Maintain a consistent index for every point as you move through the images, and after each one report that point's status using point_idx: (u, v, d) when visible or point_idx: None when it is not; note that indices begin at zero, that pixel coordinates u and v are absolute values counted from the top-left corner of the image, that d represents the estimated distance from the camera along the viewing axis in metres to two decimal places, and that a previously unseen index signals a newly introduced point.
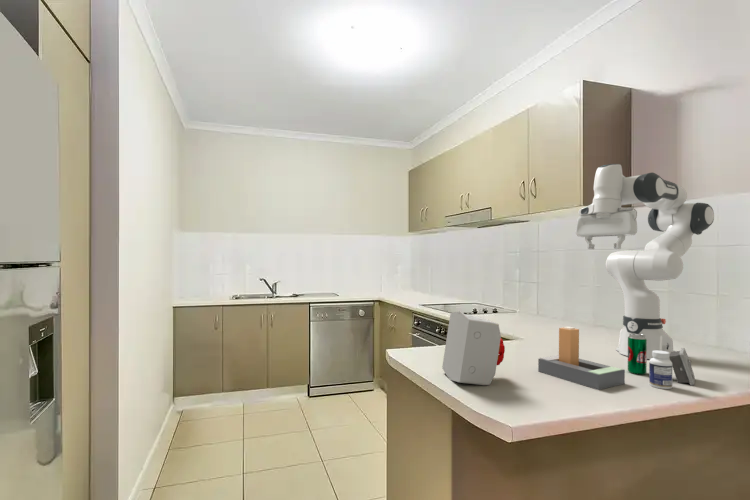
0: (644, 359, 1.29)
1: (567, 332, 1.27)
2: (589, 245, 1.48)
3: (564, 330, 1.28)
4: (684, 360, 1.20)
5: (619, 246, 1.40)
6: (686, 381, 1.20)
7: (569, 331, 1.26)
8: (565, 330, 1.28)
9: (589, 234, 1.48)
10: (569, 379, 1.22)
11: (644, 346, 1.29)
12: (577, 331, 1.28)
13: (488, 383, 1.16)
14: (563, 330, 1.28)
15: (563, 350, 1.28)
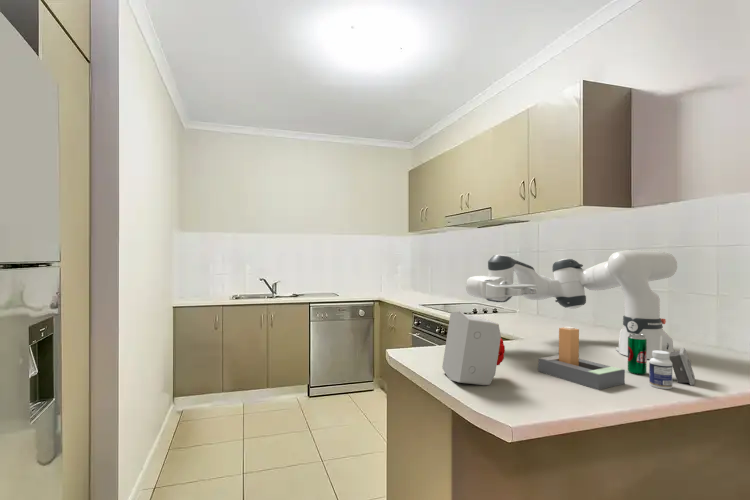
0: (644, 359, 1.29)
1: (567, 332, 1.27)
2: (518, 289, 1.42)
3: (564, 330, 1.28)
4: (684, 360, 1.20)
5: None
6: (686, 381, 1.20)
7: (569, 331, 1.26)
8: (565, 330, 1.28)
9: (508, 286, 1.45)
10: (569, 379, 1.22)
11: (644, 346, 1.29)
12: (577, 331, 1.28)
13: (488, 383, 1.16)
14: (563, 330, 1.28)
15: (563, 350, 1.28)
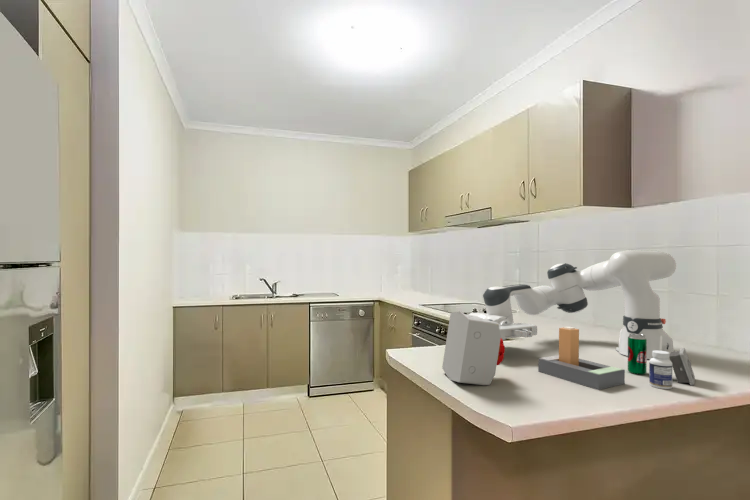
0: (644, 359, 1.29)
1: (567, 332, 1.27)
2: (524, 331, 1.43)
3: (564, 330, 1.28)
4: (684, 360, 1.20)
5: None
6: (686, 381, 1.20)
7: (569, 331, 1.26)
8: (565, 330, 1.28)
9: (508, 328, 1.44)
10: (569, 379, 1.22)
11: (644, 346, 1.29)
12: (577, 331, 1.28)
13: (488, 383, 1.16)
14: (563, 330, 1.28)
15: (563, 350, 1.28)
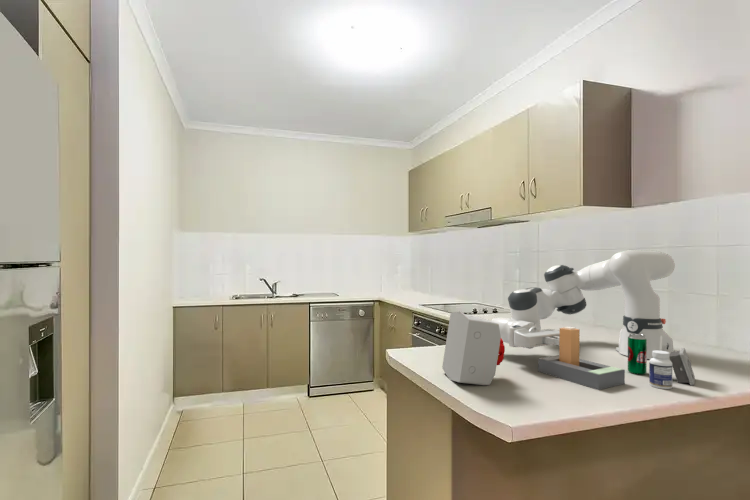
0: (644, 359, 1.29)
1: (568, 332, 1.27)
2: (557, 339, 1.31)
3: (564, 330, 1.28)
4: (684, 360, 1.20)
5: None
6: (686, 381, 1.20)
7: (570, 331, 1.26)
8: (566, 330, 1.28)
9: (539, 335, 1.33)
10: (569, 379, 1.22)
11: (644, 346, 1.29)
12: (578, 331, 1.28)
13: (488, 383, 1.16)
14: (563, 330, 1.28)
15: (564, 350, 1.28)
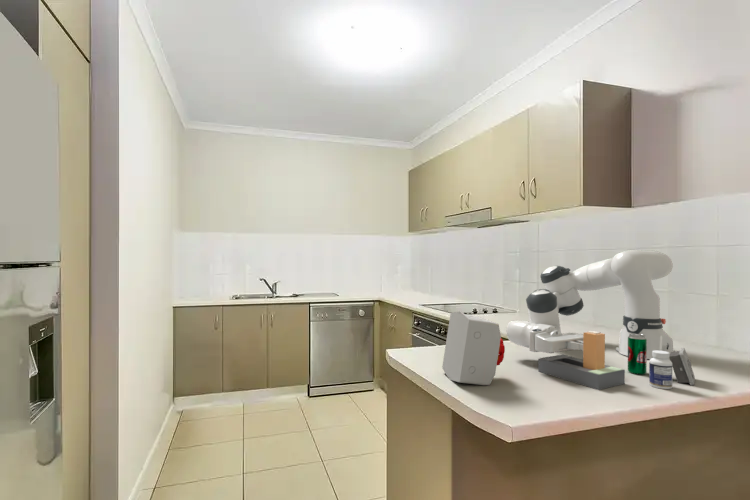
0: (644, 359, 1.29)
1: (592, 337, 1.20)
2: (581, 343, 1.24)
3: (589, 335, 1.21)
4: (684, 360, 1.20)
5: None
6: (686, 381, 1.20)
7: (595, 336, 1.19)
8: (590, 335, 1.20)
9: (562, 339, 1.26)
10: (569, 379, 1.22)
11: (644, 346, 1.29)
12: (603, 336, 1.20)
13: (488, 383, 1.16)
14: (588, 335, 1.21)
15: (588, 356, 1.21)
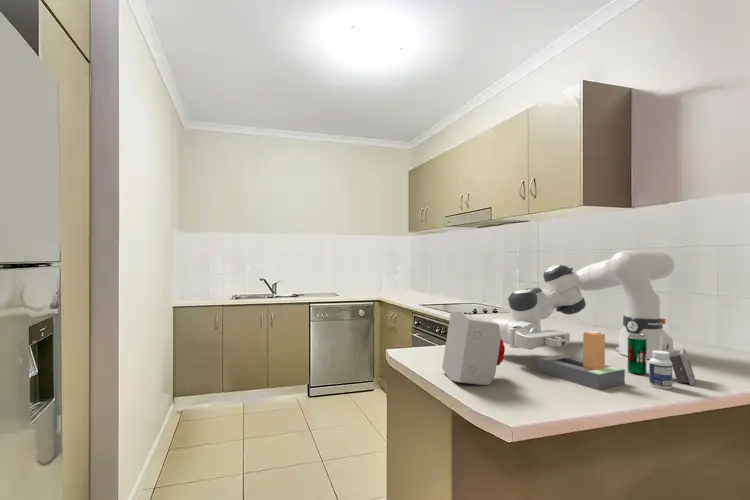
0: (644, 359, 1.29)
1: (592, 337, 1.20)
2: (558, 340, 1.30)
3: (589, 335, 1.21)
4: (684, 360, 1.20)
5: None
6: (686, 381, 1.20)
7: (595, 336, 1.19)
8: (590, 335, 1.20)
9: (540, 336, 1.32)
10: (569, 379, 1.22)
11: (644, 346, 1.29)
12: (603, 336, 1.20)
13: (488, 383, 1.16)
14: (588, 335, 1.21)
15: (588, 356, 1.21)
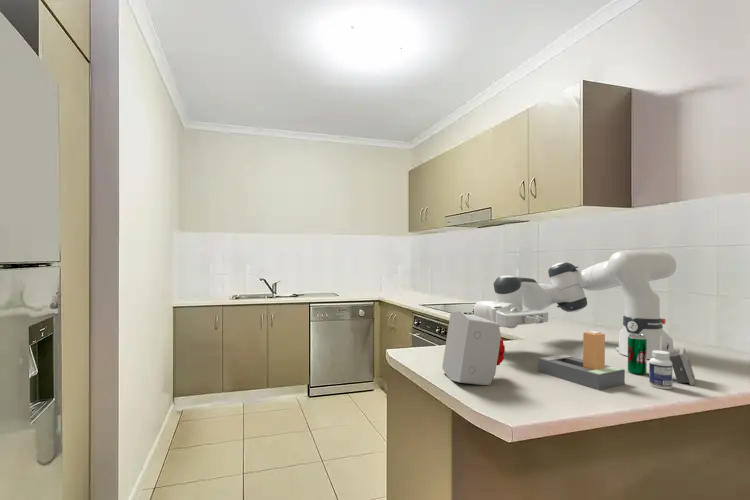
0: (644, 359, 1.29)
1: (592, 337, 1.20)
2: (536, 317, 1.38)
3: (589, 335, 1.21)
4: (684, 360, 1.20)
5: None
6: (686, 381, 1.20)
7: (595, 336, 1.19)
8: (590, 335, 1.20)
9: (519, 314, 1.40)
10: (569, 379, 1.22)
11: (644, 346, 1.29)
12: (603, 336, 1.20)
13: (488, 383, 1.16)
14: (588, 335, 1.21)
15: (588, 356, 1.21)
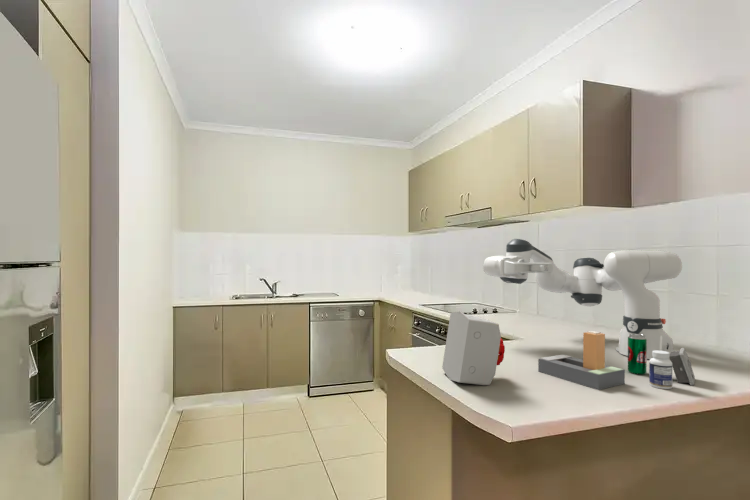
0: (644, 359, 1.29)
1: (592, 337, 1.20)
2: (542, 265, 1.50)
3: (589, 335, 1.21)
4: (684, 360, 1.20)
5: None
6: (686, 381, 1.20)
7: (595, 336, 1.19)
8: (590, 335, 1.20)
9: (526, 263, 1.52)
10: (569, 379, 1.22)
11: (644, 346, 1.29)
12: (603, 336, 1.20)
13: (488, 383, 1.16)
14: (588, 335, 1.21)
15: (588, 356, 1.21)
